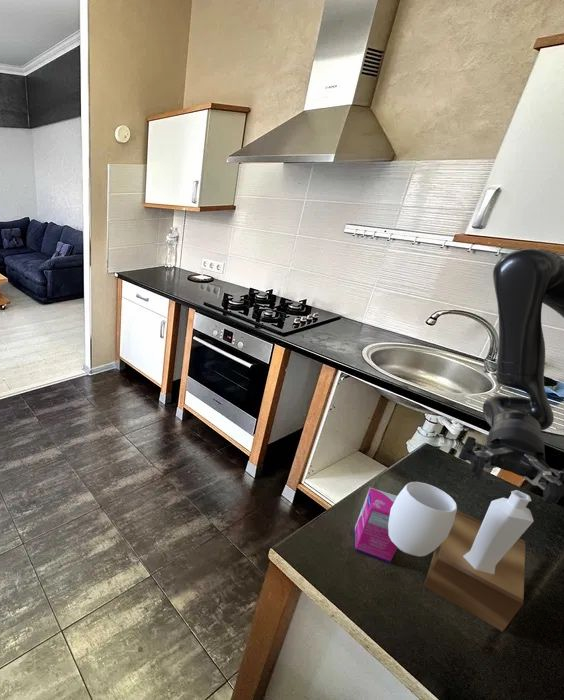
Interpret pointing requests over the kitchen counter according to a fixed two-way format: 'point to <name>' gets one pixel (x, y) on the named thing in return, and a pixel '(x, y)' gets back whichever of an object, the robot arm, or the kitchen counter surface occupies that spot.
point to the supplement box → (375, 526)
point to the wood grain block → (477, 576)
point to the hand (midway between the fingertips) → (512, 485)
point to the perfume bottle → (500, 531)
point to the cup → (421, 518)
